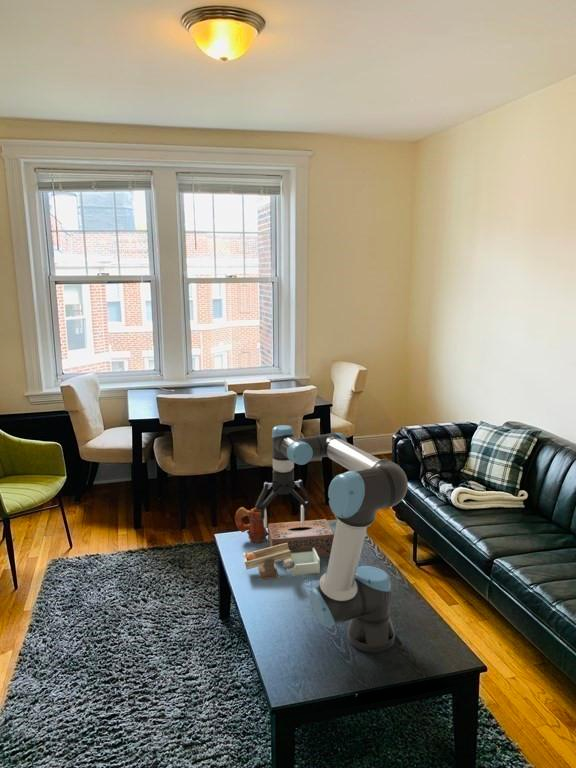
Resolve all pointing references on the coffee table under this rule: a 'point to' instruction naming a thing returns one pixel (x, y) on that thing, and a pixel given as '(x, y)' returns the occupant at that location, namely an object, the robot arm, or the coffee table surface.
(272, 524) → the tissue box cover
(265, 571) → the fulcrum
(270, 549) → the lever
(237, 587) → the coffee table surface
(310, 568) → the bin
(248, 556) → the ball
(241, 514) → the mug
